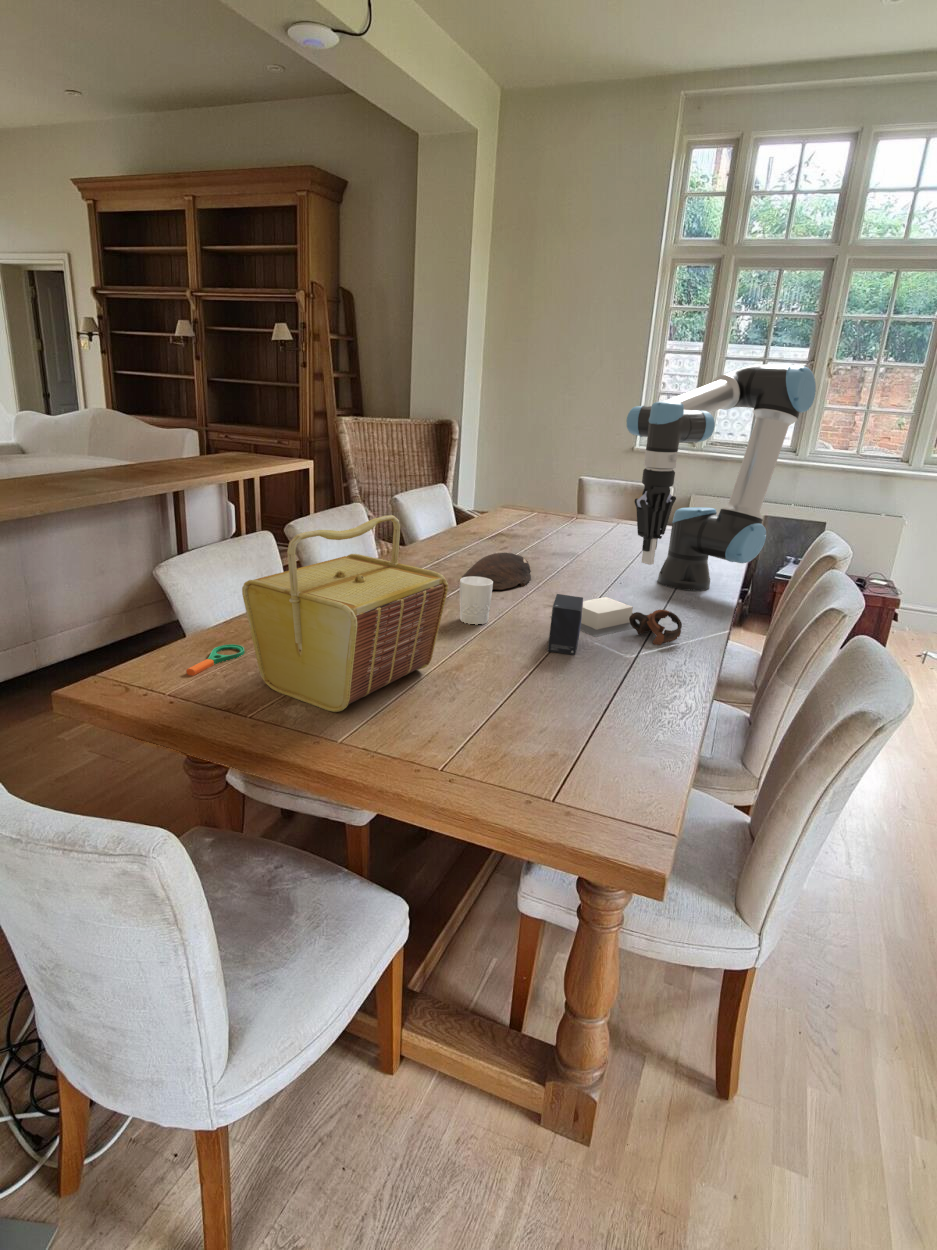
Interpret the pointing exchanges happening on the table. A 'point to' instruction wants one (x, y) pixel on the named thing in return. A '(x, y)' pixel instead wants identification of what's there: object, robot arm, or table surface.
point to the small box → (565, 624)
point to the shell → (502, 570)
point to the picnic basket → (343, 622)
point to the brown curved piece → (656, 625)
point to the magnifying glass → (215, 658)
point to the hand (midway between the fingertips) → (647, 563)
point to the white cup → (475, 599)
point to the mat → (605, 629)
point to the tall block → (605, 613)
